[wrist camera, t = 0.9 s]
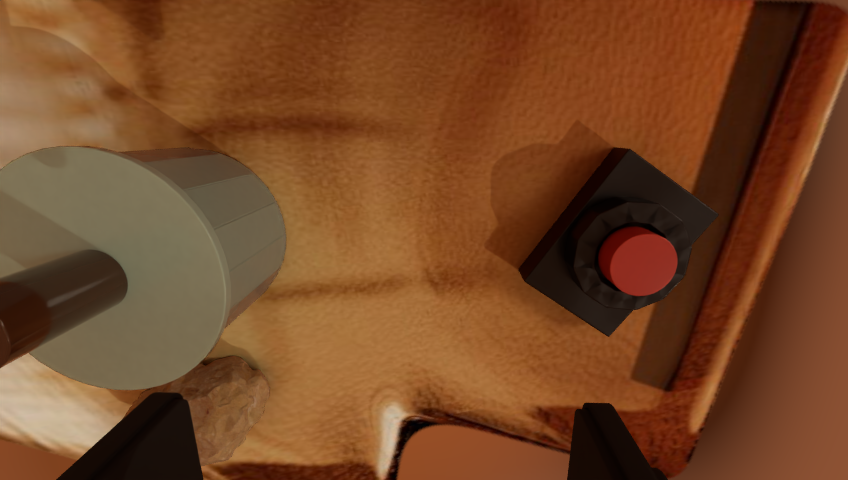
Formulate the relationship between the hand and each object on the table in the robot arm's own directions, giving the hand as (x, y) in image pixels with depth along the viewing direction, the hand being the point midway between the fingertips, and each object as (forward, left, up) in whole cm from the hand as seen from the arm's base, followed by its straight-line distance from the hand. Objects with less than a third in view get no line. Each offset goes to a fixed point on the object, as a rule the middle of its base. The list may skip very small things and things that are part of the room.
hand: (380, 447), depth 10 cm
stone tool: (+20, -7, -19) cm, 28 cm away
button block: (-7, +10, -19) cm, 22 cm away
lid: (+8, -13, -10) cm, 18 cm away
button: (-7, +10, -15) cm, 19 cm away
